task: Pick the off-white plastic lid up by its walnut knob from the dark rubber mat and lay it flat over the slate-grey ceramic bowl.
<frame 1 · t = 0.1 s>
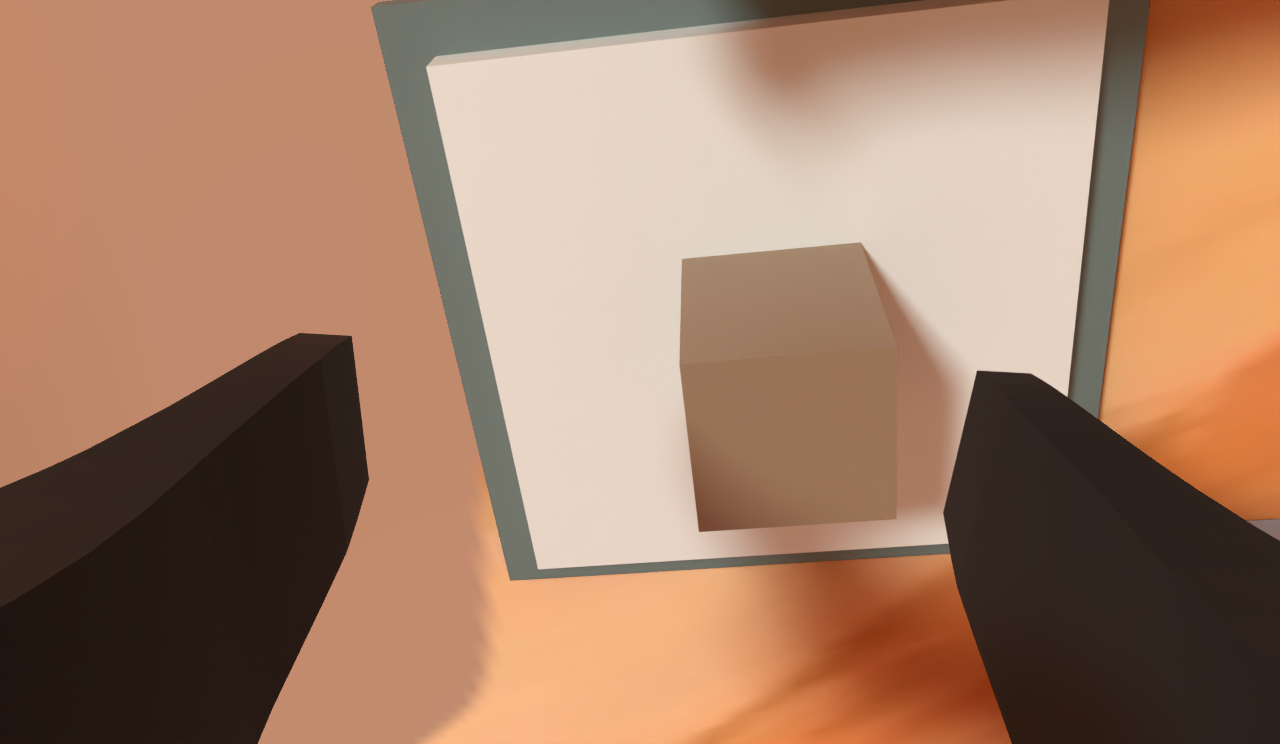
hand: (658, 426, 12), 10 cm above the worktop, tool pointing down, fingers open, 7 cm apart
bowl: (1253, 667, 27), on the worktop
lid: (772, 311, 22), resting on mat
mat: (771, 300, 22), on the worktop
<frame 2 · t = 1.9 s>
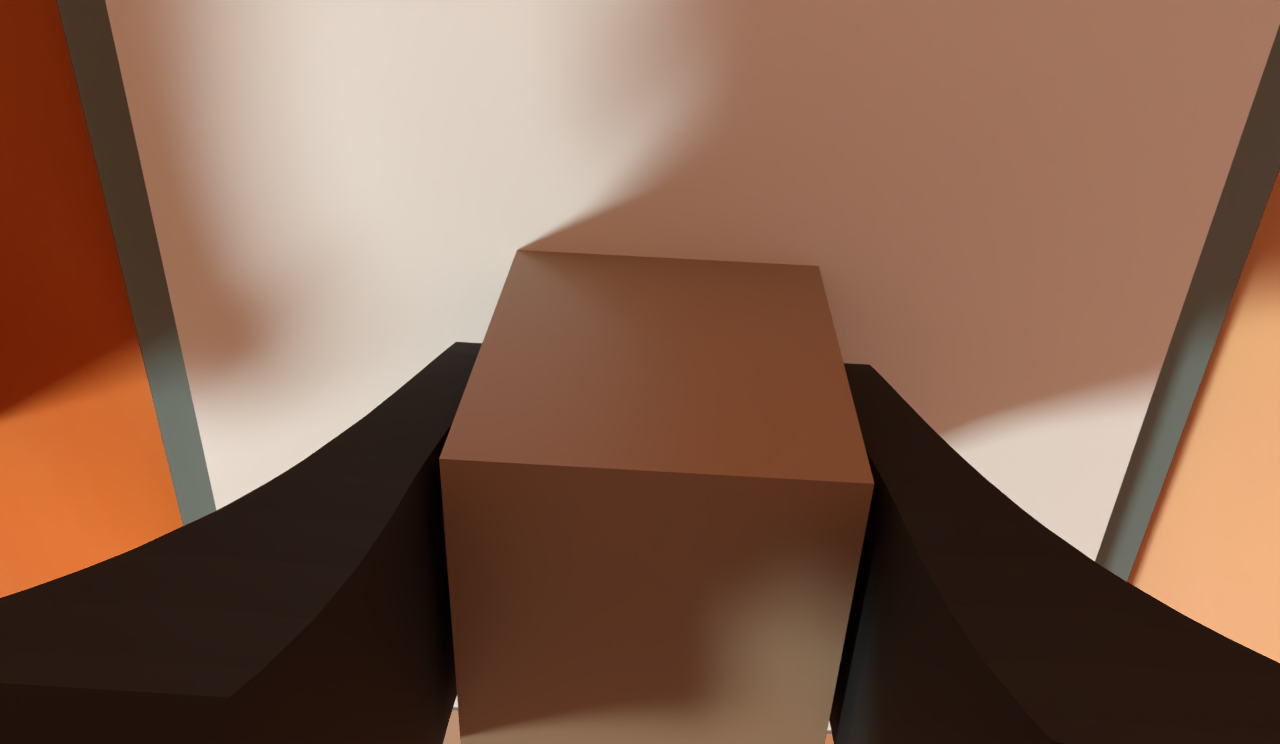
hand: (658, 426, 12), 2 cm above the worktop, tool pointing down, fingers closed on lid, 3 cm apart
lid: (661, 355, 13), resting on mat, touching gripper
mat: (662, 337, 14), on the worktop
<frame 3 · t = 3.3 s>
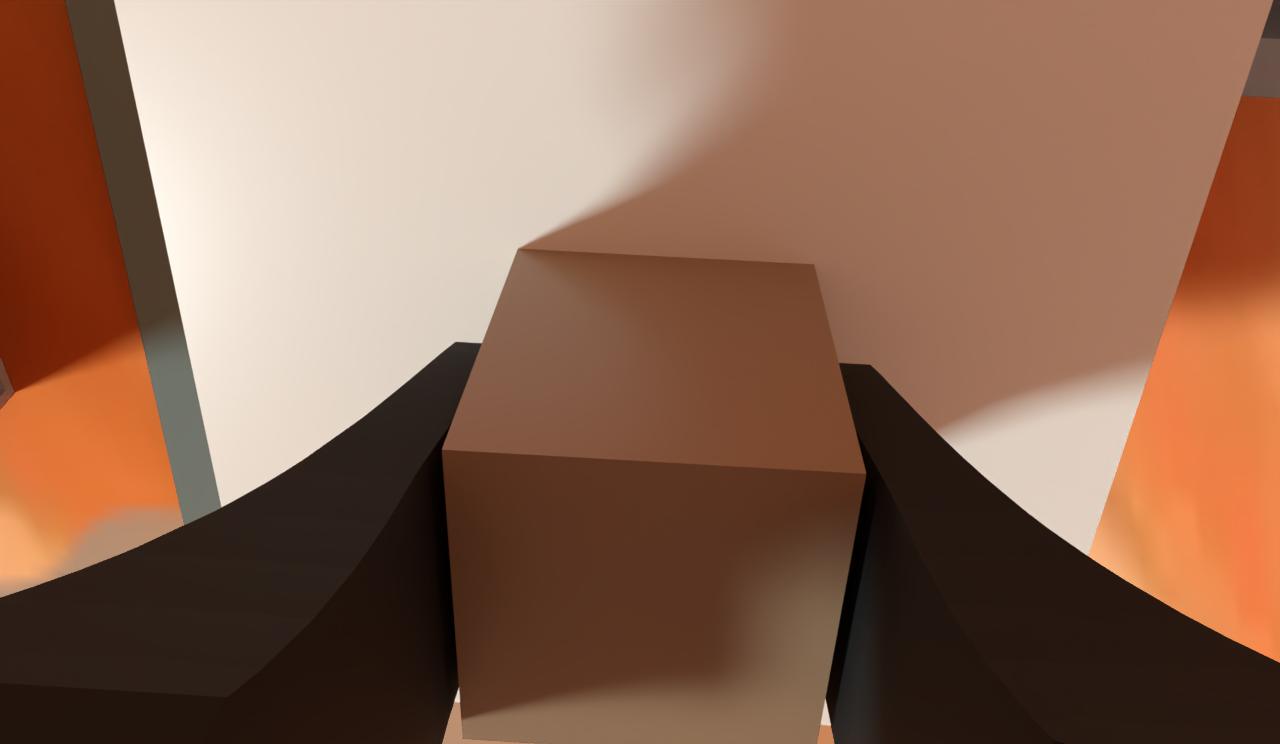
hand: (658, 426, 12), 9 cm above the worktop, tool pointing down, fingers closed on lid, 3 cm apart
lid: (660, 353, 14), point 7 cm above the worktop, touching gripper
mat: (469, 329, 22), on the worktop
when the fingers open (7 cm above the worktop, at t = 4.7 s): lid stays where it is, resting on bowl.
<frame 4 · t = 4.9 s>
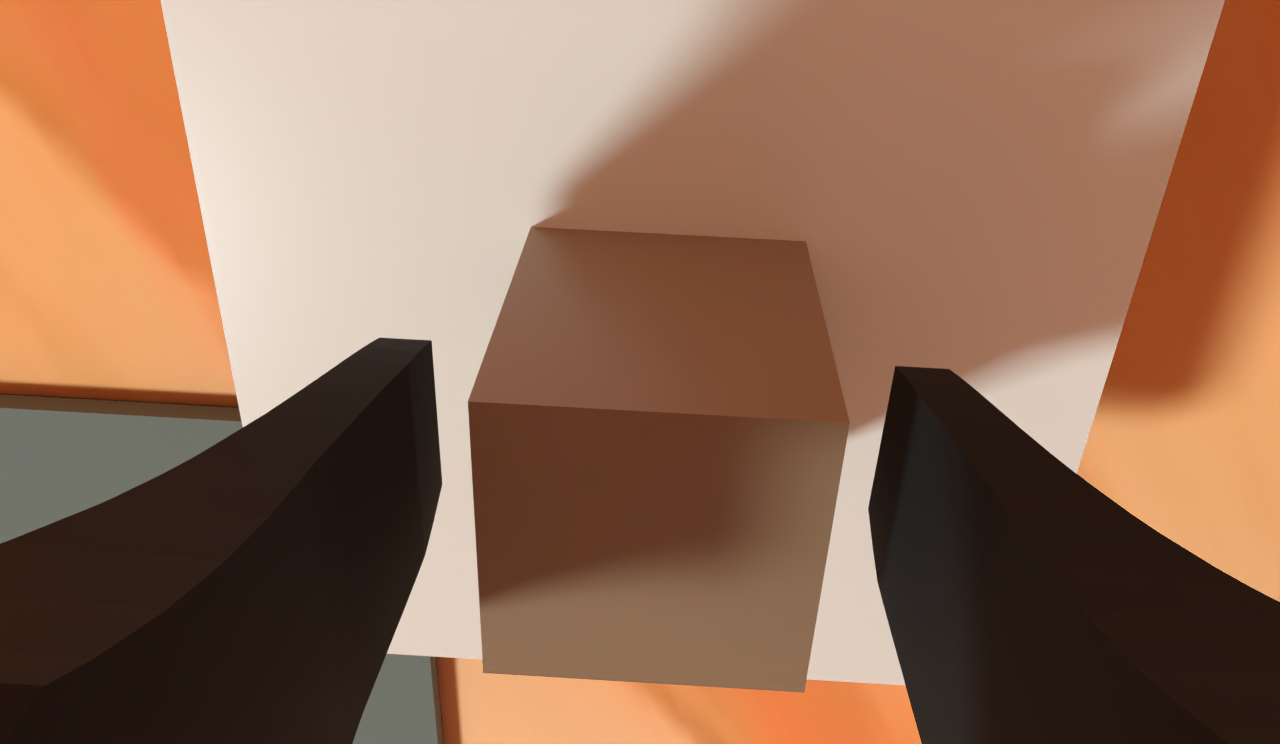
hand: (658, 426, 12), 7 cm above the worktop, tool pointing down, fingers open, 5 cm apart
lid: (662, 326, 15), point 4 cm above the worktop, touching bowl
mat: (148, 644, 25), on the worktop
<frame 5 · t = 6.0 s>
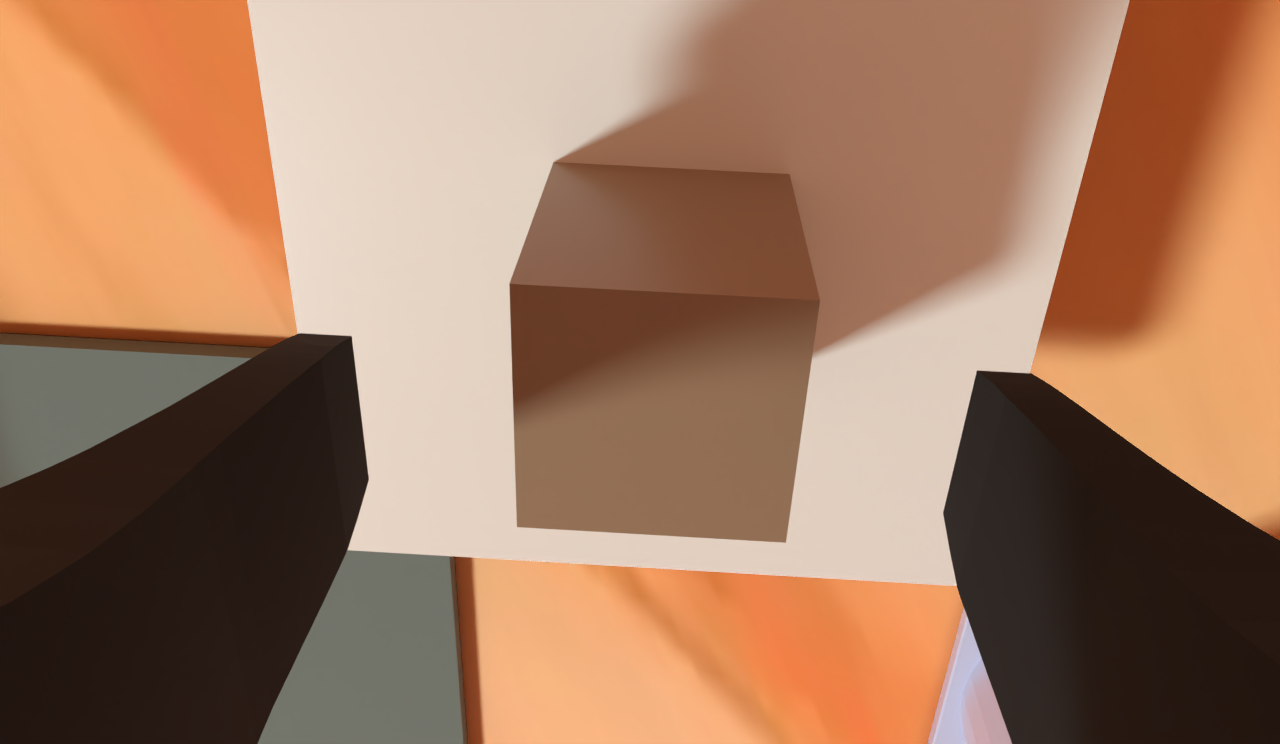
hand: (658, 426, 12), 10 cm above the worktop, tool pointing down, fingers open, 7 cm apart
lid: (666, 254, 17), point 4 cm above the worktop, touching bowl
mat: (191, 574, 27), on the worktop
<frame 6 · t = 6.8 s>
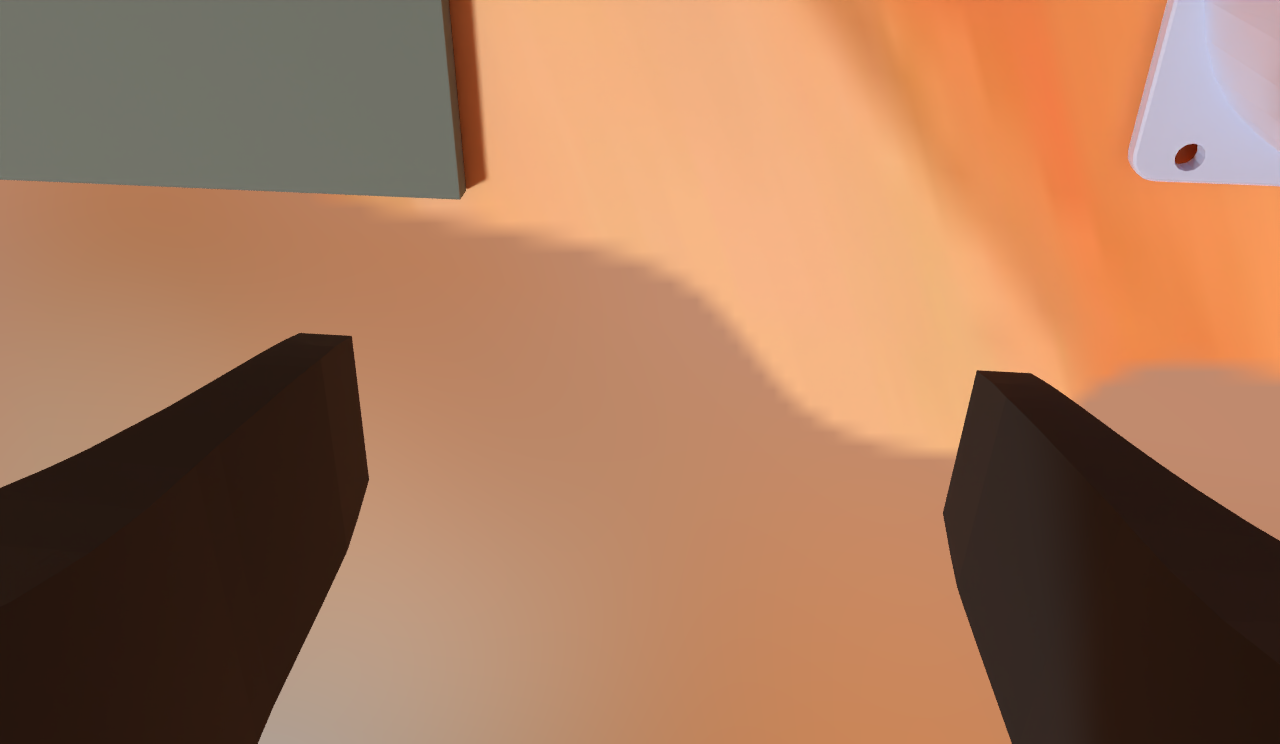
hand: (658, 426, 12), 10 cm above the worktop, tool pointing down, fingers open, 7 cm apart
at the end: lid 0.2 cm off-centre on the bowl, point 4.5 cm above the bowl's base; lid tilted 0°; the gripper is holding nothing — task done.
